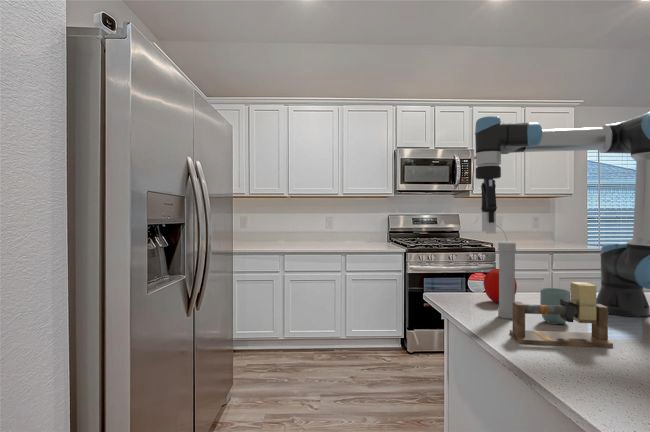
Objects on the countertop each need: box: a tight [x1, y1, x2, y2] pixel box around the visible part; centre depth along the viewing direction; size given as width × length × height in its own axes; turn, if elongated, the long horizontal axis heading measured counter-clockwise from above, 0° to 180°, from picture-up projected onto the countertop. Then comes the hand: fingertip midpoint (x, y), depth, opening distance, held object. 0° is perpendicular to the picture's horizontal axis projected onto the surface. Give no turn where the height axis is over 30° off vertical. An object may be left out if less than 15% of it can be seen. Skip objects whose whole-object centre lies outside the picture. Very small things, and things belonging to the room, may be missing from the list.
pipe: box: [496, 224, 517, 320], centre depth 132 cm, size 6×6×30 cm
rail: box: [509, 301, 614, 348], centre depth 108 cm, size 22×9×10 cm, turn 81°
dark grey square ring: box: [560, 299, 574, 323], centre depth 108 cm, size 1×5×5 cm, turn 171°
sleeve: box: [569, 281, 597, 324], centre depth 107 cm, size 4×5×10 cm
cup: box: [539, 287, 570, 325], centre depth 125 cm, size 8×8×10 cm
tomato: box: [483, 267, 518, 304], centre depth 153 cm, size 12×12×13 cm
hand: (488, 232), depth 130 cm, fingers open, 13 cm apart
